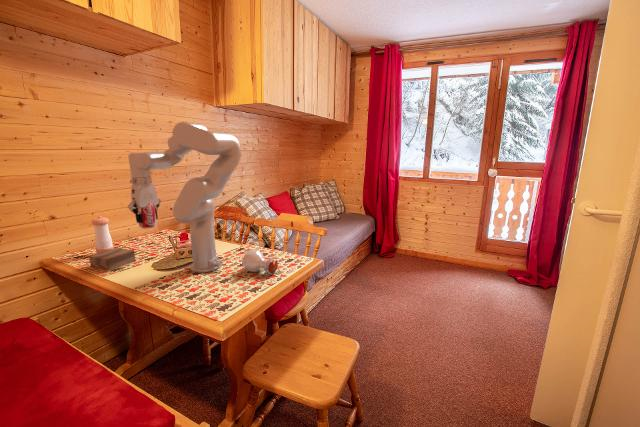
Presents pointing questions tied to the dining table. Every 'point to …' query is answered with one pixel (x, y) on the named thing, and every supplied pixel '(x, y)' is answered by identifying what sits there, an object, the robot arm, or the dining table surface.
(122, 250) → the walnut block
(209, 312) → the dining table surface
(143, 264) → the dining table surface
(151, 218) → the soda can
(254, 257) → the potion bottle
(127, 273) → the dining table surface
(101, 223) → the pepper shaker
